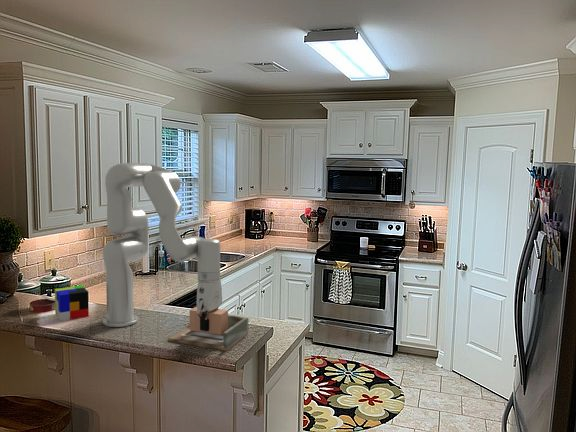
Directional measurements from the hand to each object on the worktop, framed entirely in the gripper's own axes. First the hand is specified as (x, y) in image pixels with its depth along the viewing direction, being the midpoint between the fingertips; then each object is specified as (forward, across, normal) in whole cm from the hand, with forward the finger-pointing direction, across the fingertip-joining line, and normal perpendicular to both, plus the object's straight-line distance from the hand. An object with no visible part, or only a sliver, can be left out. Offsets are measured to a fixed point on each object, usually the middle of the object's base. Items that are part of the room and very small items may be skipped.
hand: (208, 327), depth 162 cm
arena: (+5, +3, +1) cm, 5 cm away
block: (+1, 0, 0) cm, 1 cm away
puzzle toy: (+5, +2, +61) cm, 61 cm away
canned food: (+5, +3, +77) cm, 77 cm away
